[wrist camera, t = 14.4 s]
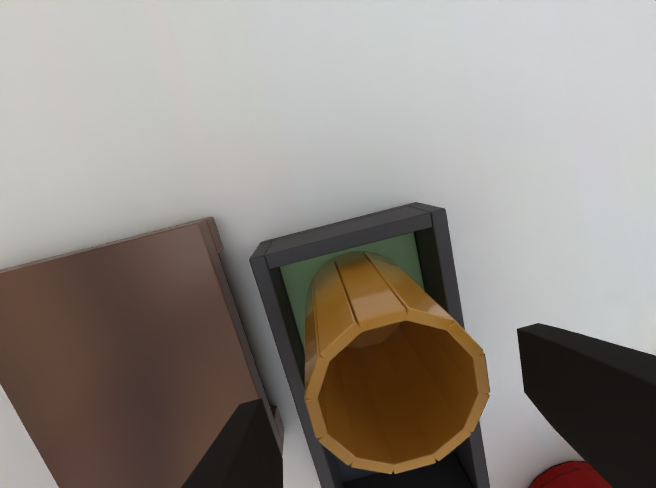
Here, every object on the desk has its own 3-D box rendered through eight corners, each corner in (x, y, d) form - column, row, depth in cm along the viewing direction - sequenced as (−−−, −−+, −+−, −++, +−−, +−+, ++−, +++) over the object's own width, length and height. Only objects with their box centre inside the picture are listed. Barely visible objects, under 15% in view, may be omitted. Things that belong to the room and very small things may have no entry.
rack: (333, 483, 18) (340, 546, 15) (260, 242, 14) (248, 259, 11) (461, 448, 18) (493, 503, 15) (416, 201, 15) (446, 208, 11)
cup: (320, 359, 15) (331, 491, 9) (294, 265, 14) (285, 338, 8) (417, 334, 15) (498, 446, 9) (398, 239, 14) (476, 290, 8)
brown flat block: (103, 479, 16) (75, 519, 14) (-5, 271, 14) (-56, 286, 12) (284, 430, 17) (282, 463, 15) (213, 216, 14) (198, 222, 12)
